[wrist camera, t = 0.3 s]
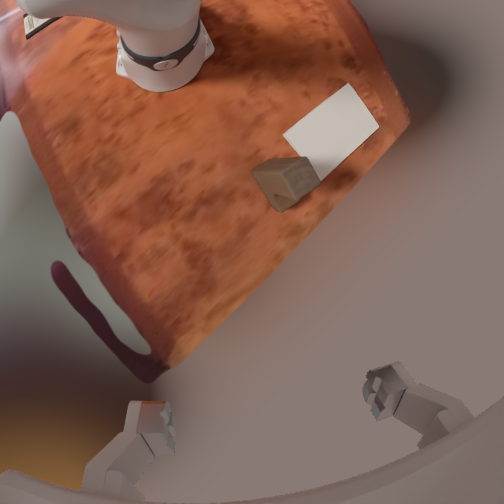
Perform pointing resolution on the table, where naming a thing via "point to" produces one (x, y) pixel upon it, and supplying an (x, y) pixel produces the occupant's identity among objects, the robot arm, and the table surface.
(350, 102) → the white board
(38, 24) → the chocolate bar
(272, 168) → the wooden block
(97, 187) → the table surface
